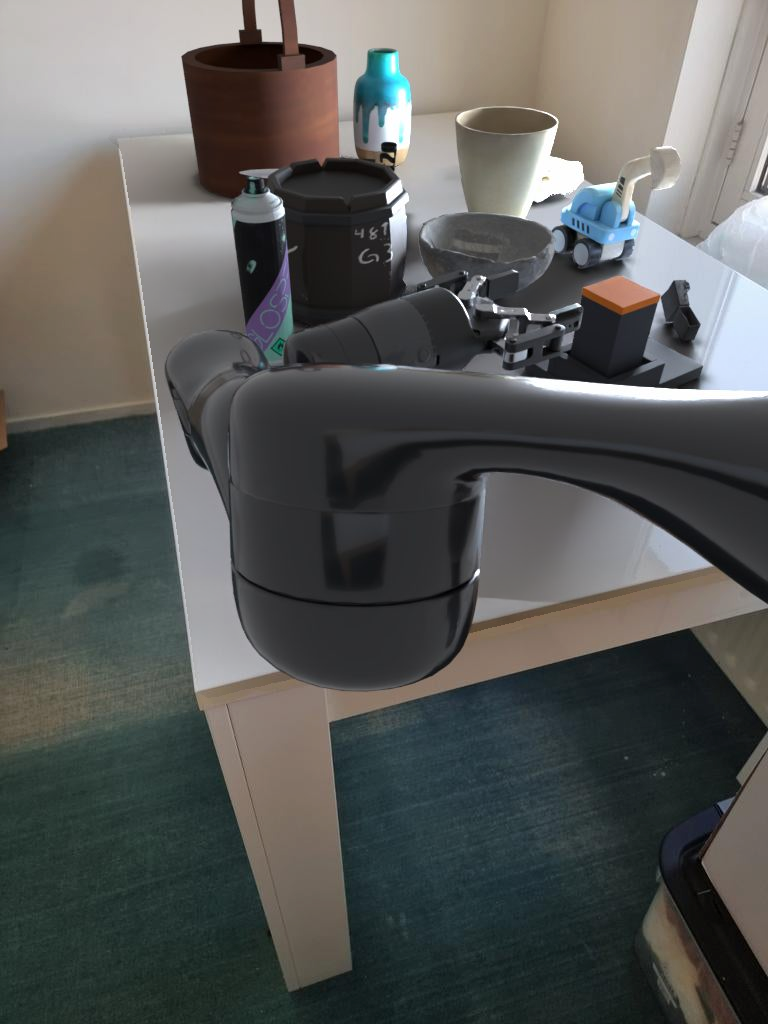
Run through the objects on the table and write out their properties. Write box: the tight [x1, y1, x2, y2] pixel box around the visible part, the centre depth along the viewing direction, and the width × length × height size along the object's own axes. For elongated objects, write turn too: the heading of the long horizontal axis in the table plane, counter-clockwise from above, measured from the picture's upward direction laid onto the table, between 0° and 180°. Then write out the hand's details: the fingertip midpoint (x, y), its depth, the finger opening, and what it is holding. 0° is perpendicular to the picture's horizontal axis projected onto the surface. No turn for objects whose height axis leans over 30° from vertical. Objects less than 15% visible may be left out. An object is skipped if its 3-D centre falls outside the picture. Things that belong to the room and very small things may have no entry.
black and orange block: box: [570, 275, 662, 379], centre depth 78 cm, size 6×6×10 cm
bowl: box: [418, 211, 556, 292], centre depth 99 cm, size 18×18×8 cm
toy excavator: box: [551, 145, 682, 269], centre depth 102 cm, size 9×17×17 cm, turn 28°
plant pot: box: [454, 106, 559, 219], centre depth 113 cm, size 15×15×16 cm
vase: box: [352, 47, 412, 168], centre depth 134 cm, size 11×11×19 cm
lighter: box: [660, 279, 702, 342], centre depth 92 cm, size 8×2×5 cm
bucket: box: [181, 0, 341, 199], centre depth 124 cm, size 26×26×35 cm
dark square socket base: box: [524, 336, 704, 389], centre depth 84 cm, size 12×16×4 cm
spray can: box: [230, 176, 295, 367], centre depth 81 cm, size 6×6×20 cm
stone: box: [532, 155, 585, 203], centre depth 132 cm, size 21×12×5 cm, turn 5°
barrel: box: [266, 157, 410, 327], centre depth 93 cm, size 18×18×16 cm
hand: (546, 297), depth 69 cm, fingers open, 8 cm apart
